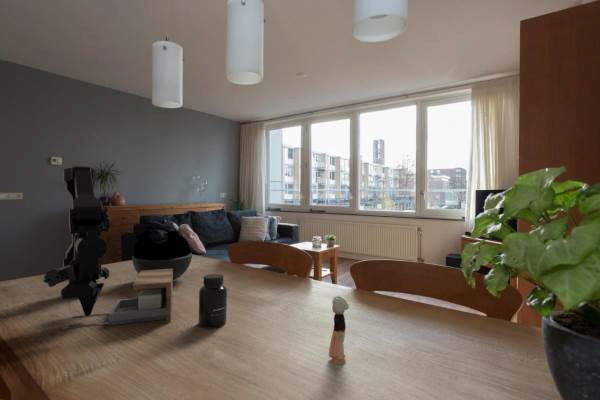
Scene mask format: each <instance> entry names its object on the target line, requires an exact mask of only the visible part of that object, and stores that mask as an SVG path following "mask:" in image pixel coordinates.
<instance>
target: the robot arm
mask: <svg viewBox="0 0 600 400" xmlns="http://www.w3.org/2000/svg"><path fill="white" fill-rule="evenodd" d="M62 172H63V173H62V184H65V189H66V190H67V192H68V193H69V194H70V196H71V208H69V209H68V225H69V234H70V235H71V244H70V245H69V247H68V249H67V250H66V251H65V258H63V259H62V260H63V261H62V267H59V268H57V267H54V268H52V269H48V270H47V271H46V272H45V274H44V275H43V278H44V279H43V283H44V284H47V285H48V286H49V288H52V287H55V286H56V285H58V284H61V283H64V282H67V281H68V284H67V285H65V286H64V287H63V288H62V289H61V290H60V299H61V300H68V299H78V300H79V302H80V305H81V308H82V312H83V314H84V315H85V316H89V315H92V312H93V309H94V307H95V306H96V303H97V301H98V299H99V296H100V295H101V292H102V289H103V287H104V285H105V283H104V282H102V283H101V282H100V283H99V281H98V280H100V278H104V280H108V278H110V269H108V268H107V267H102V261H103V260H104V255H105V254H106V252H107V250H108V249H107V248H108V245H107V243H106V241H105V239H103V237H102V233H106V232H108V231H109V229H110V226H111V225H110V223H111V222H110V217H109V212H107V208H104V207H103V203H102V202H103V201H102V200H101V199H99V198H97V197H96V195H95V194H96V193H95V185H96V184H97V183H98V170H96V169H94V167H90V166H87V165H86V166H85V165H84V166H83V165H82V166H81V165H74V166H71V167H68V168H64V169H63V171H62ZM89 317H90V316H89Z"/></svg>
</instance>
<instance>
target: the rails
mask: <svg viewBox="0 0 600 400" xmlns="http://www.w3.org/2000/svg"><path fill="white" fill-rule="evenodd" d="M109 313H110V312H105V313H94V314H90V315H89V316H85V314H84V315H74V316H72V317H71V318H72V319H78V318H79V319H80V318H87V317H96V316H97V317H98V316H107V315H108V316H109ZM102 325H103V326H104V325H109V321H107V322H99V323H91V324H90V323H89V324H82V325H81V324H80V325H73V326H71V325H70V326H64V327H62V329H61V330H67V329H76V328H78V329H79V328H86V327H94V326H102Z"/></svg>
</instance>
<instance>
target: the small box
mask: <svg viewBox="0 0 600 400" xmlns="http://www.w3.org/2000/svg"><path fill="white" fill-rule="evenodd" d="M137 298H138V310H144V309H154V308H163V288H158V289H146V290H141V292H139V294H138V296H137Z"/></svg>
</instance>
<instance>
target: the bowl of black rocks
mask: <svg viewBox="0 0 600 400" xmlns="http://www.w3.org/2000/svg"><path fill="white" fill-rule="evenodd" d="M150 233H151V232H150V230H148V229H147V230H146V229H145V230H144V231H143V232H142V233H141V234H138V236H136V238H135V239H136V240H137V241H136V242H135V244H134V248H133V251H132V252H133V256H132V257H131V261H132V264H133V268H134V270H135V271H136V272H137V274H138V275H139V273H140V272H141V271H144V270H160V269H173V281H175V280H177V279H179V278H180V277H182V275H184V273H186V272H187V270H188V269H189V266H190V265H191V262H192V258H193V253H192V251H191V248H190V246H189V245H188V244H189V243H188V242H187V239H186V237H184V236H182V235H181V234H180V232H179V231H178V230H171V231H167V232H166V233H163V236H165V237H168V238H166V240H165V241H163V242H162V243H158V242H155V241H152V239H151V238H150V237H149V235H150Z"/></svg>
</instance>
